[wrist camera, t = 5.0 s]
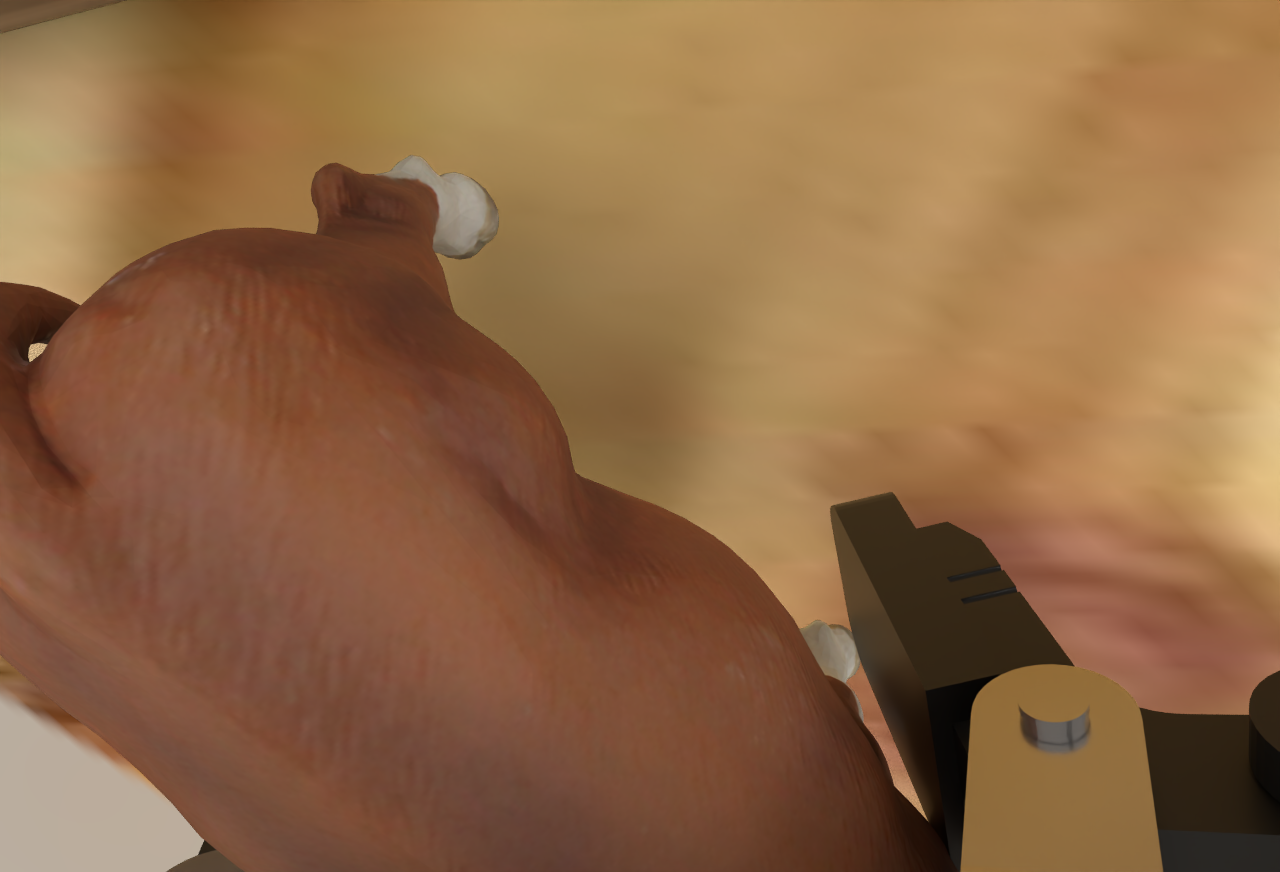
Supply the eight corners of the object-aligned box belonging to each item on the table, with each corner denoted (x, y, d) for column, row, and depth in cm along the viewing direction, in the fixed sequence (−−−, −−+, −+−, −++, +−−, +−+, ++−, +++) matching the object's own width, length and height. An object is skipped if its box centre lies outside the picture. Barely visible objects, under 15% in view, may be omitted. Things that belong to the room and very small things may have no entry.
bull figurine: (739, 932, 16) (875, 1719, 9) (133, 230, 12) (-678, 679, 4) (985, 808, 16) (1359, 1554, 8) (449, 2, 11) (166, 31, 3)
